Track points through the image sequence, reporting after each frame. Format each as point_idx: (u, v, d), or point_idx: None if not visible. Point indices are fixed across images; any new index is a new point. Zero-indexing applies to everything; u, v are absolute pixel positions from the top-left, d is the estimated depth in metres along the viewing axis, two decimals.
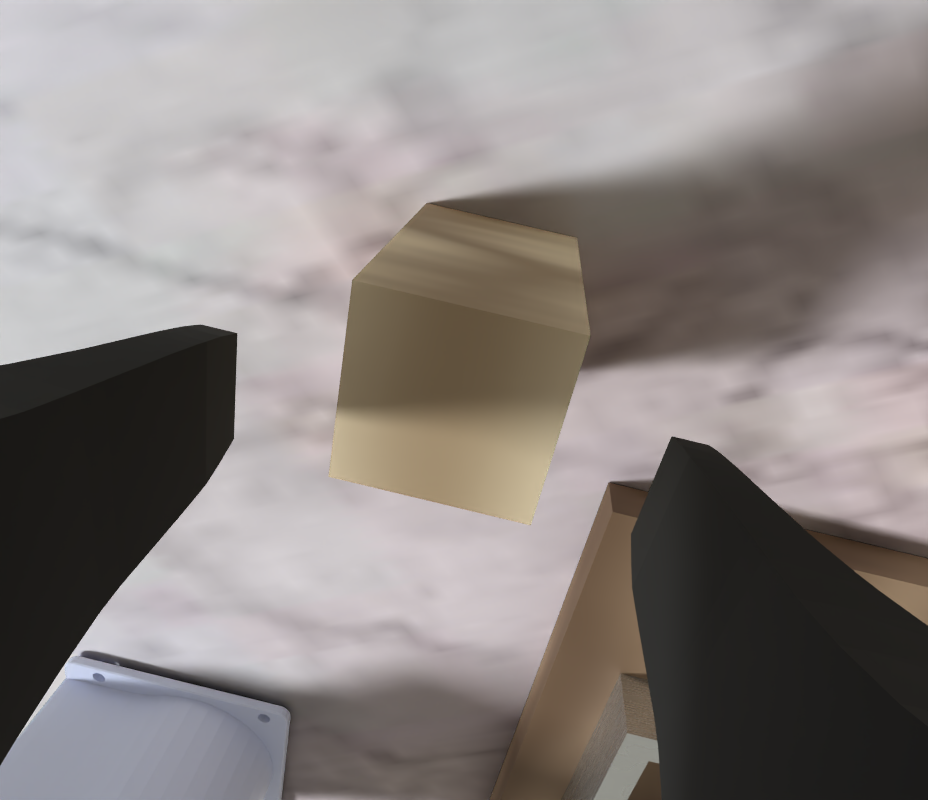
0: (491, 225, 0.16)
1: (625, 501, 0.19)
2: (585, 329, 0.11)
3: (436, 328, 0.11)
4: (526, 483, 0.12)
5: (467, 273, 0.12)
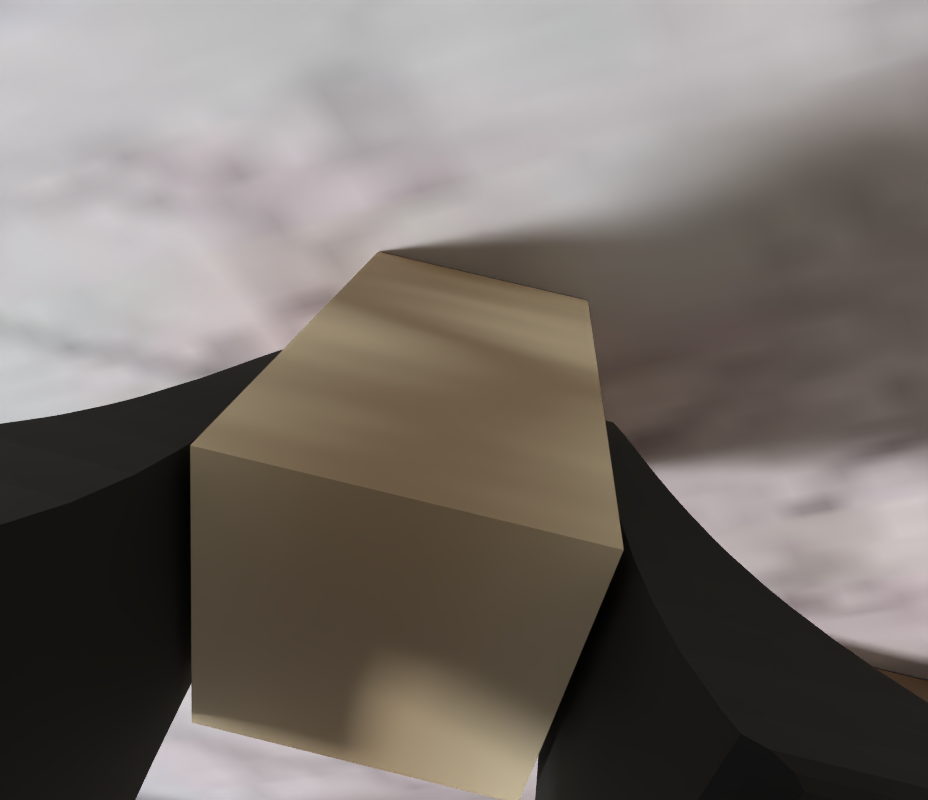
0: (466, 287, 0.11)
1: None
2: (613, 530, 0.06)
3: (347, 525, 0.06)
4: (509, 751, 0.07)
5: (412, 399, 0.07)
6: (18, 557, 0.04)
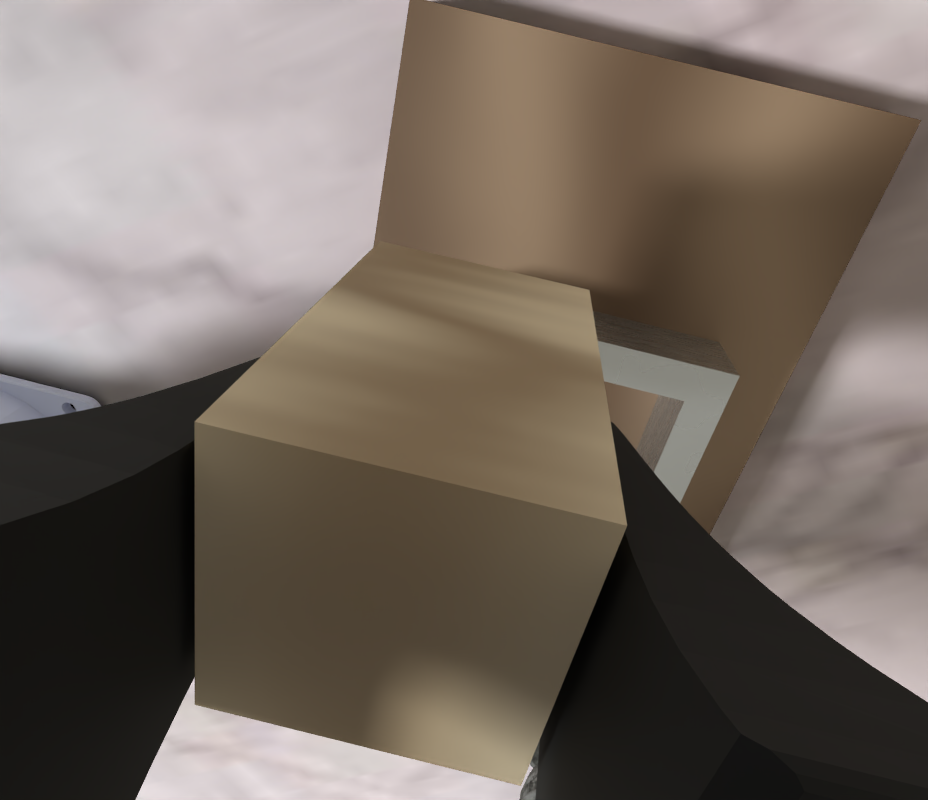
0: (469, 275, 0.11)
1: None
2: (616, 507, 0.06)
3: (350, 502, 0.06)
4: (512, 732, 0.07)
5: (415, 380, 0.07)
6: (18, 557, 0.04)
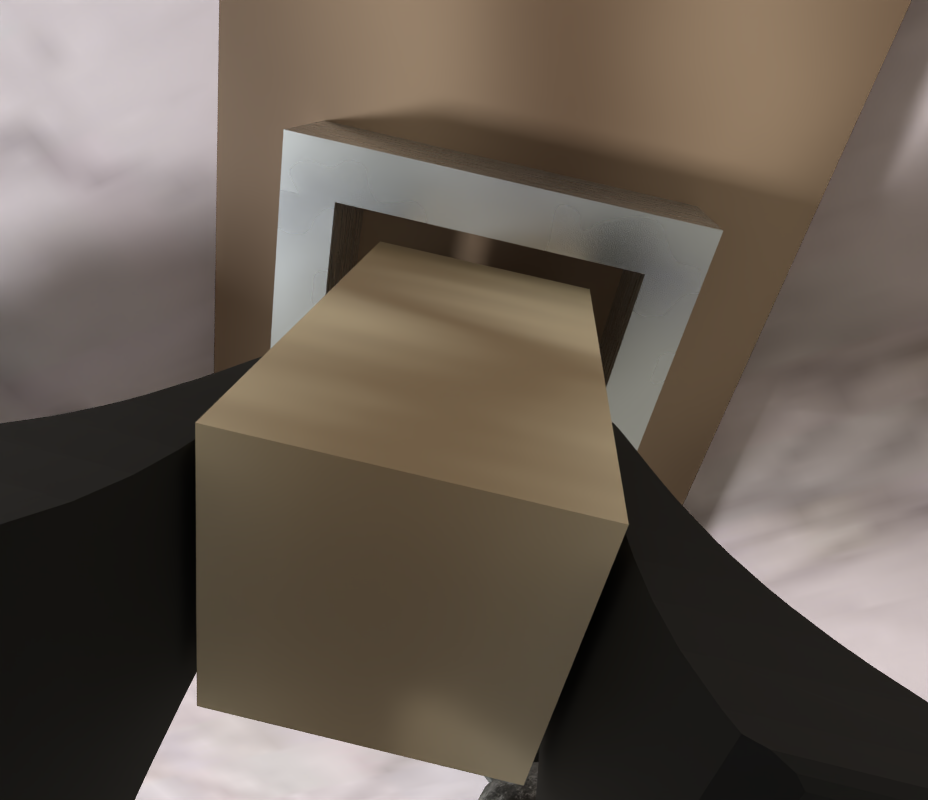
0: (468, 275, 0.11)
1: None
2: (617, 506, 0.06)
3: (351, 502, 0.06)
4: (515, 731, 0.07)
5: (415, 380, 0.07)
6: (17, 557, 0.04)
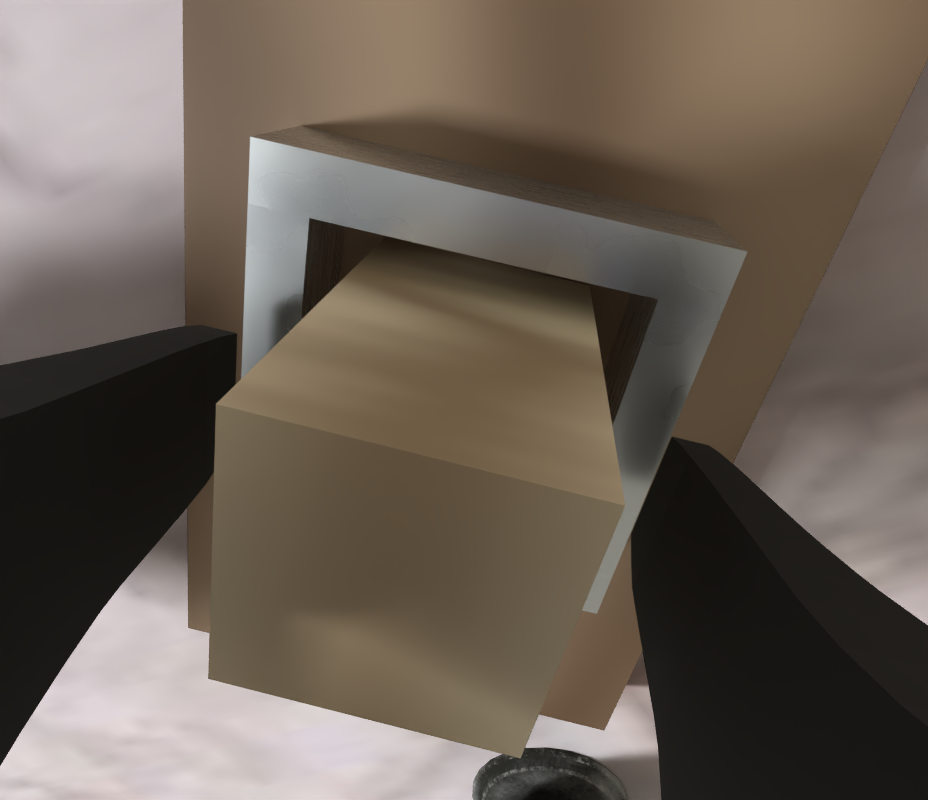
0: (472, 270, 0.11)
1: None
2: (615, 488, 0.06)
3: (363, 482, 0.06)
4: (514, 705, 0.08)
5: (423, 369, 0.08)
6: None
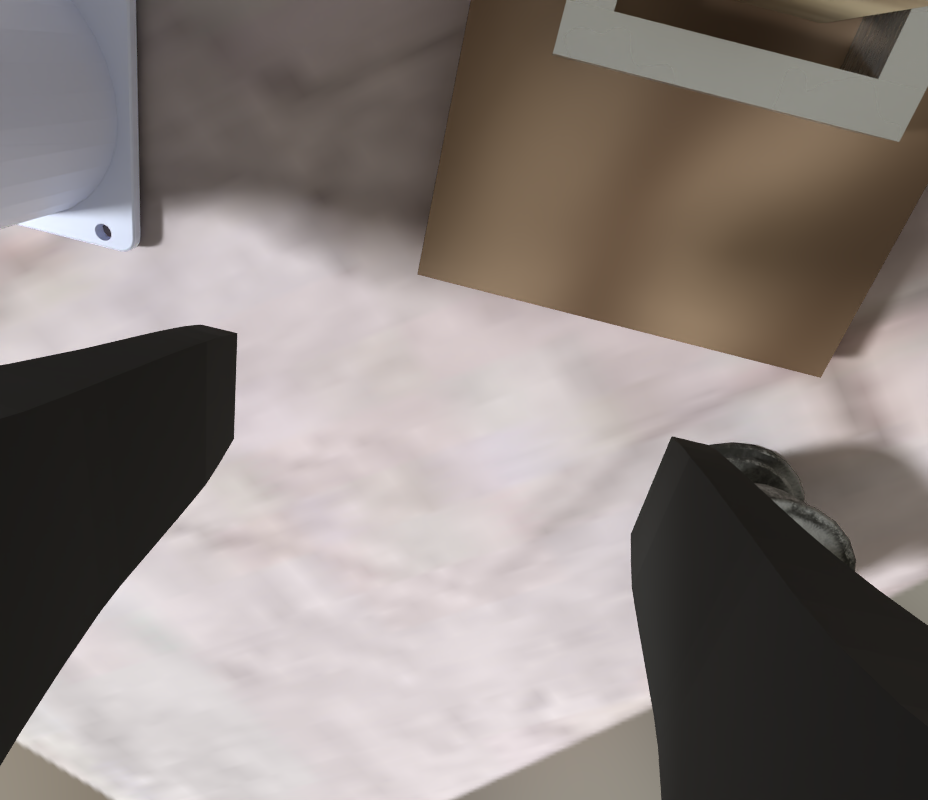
0: None
1: None
2: None
3: None
4: None
5: None
6: None
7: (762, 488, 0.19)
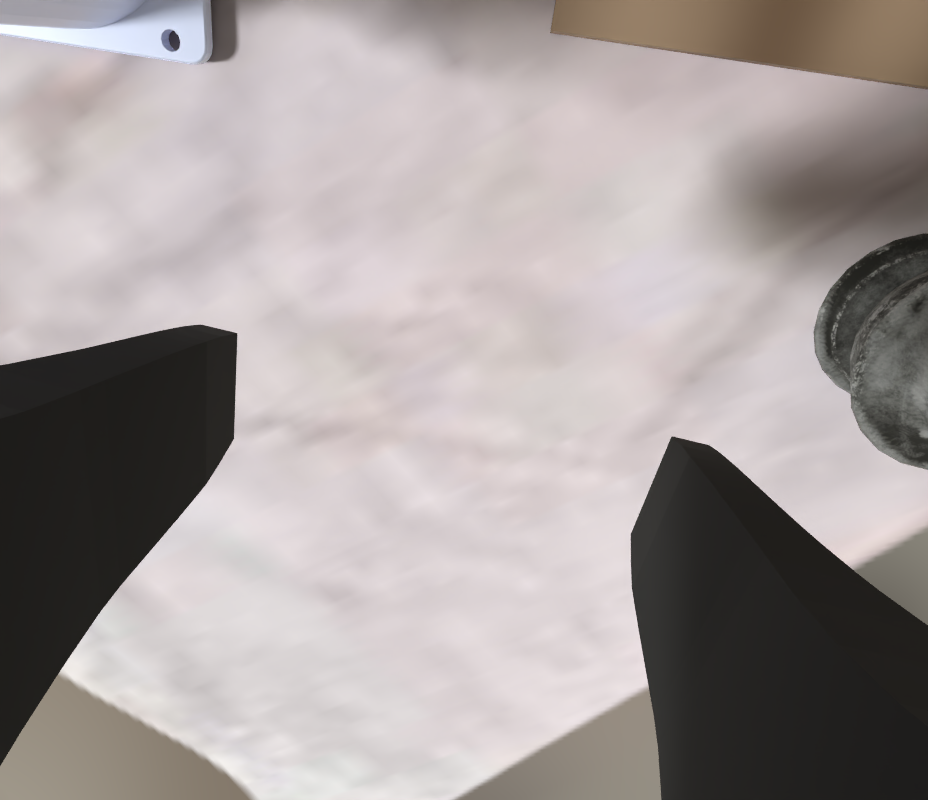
0: None
1: None
2: None
3: None
4: None
5: None
6: None
7: None
